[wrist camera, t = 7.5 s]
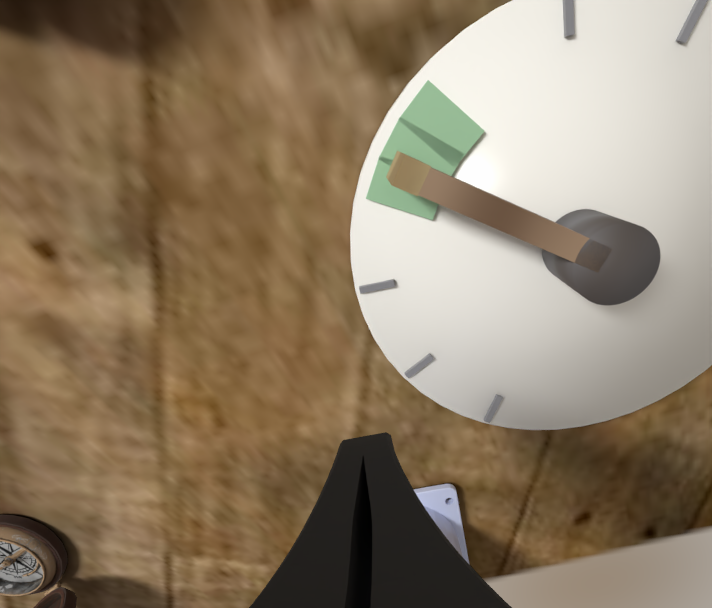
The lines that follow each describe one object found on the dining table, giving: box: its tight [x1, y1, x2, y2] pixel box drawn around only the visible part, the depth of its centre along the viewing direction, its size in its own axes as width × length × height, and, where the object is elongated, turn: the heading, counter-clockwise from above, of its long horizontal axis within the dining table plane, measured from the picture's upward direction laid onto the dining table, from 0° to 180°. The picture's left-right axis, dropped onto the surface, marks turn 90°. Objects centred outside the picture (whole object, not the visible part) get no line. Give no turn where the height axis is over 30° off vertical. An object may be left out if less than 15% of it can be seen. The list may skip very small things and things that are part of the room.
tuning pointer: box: [386, 151, 660, 305], centre depth 18 cm, size 11×3×3 cm, turn 67°
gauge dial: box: [350, 0, 712, 430], centre depth 20 cm, size 20×20×1 cm
